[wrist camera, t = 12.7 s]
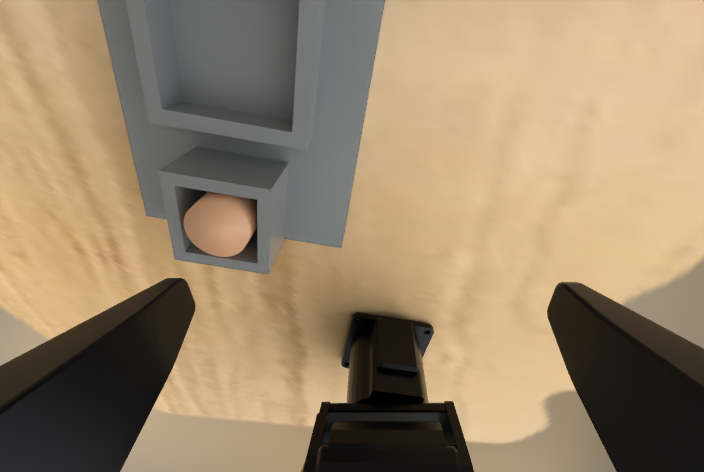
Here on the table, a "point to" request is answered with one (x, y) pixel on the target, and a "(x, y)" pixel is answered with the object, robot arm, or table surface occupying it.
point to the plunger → (221, 223)
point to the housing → (245, 111)
